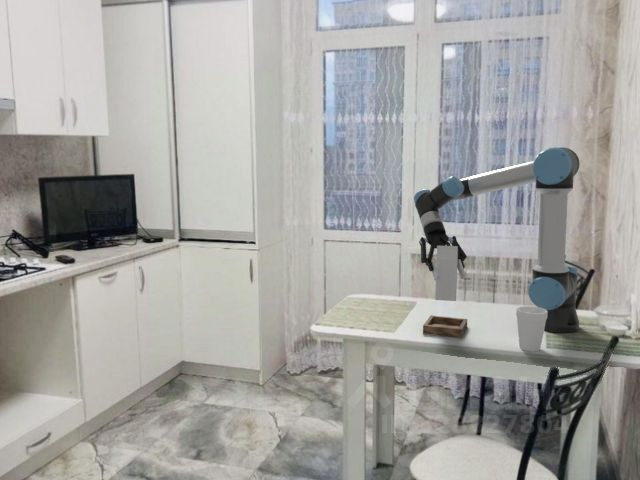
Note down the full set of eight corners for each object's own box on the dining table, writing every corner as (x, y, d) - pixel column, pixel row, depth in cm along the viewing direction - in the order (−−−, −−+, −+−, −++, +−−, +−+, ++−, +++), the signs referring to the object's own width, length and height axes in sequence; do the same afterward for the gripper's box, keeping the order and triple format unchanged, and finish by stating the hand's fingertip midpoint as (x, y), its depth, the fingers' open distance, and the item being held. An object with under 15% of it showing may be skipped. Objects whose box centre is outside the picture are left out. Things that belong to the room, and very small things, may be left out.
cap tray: (467, 326, 214) (467, 319, 213) (461, 338, 202) (461, 329, 201) (430, 322, 219) (430, 315, 218) (422, 333, 207) (423, 325, 206)
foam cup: (513, 342, 197) (515, 305, 195) (542, 344, 195) (544, 306, 193) (516, 352, 188) (518, 313, 185) (547, 354, 186) (549, 314, 184)
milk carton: (456, 301, 204) (458, 248, 201) (435, 300, 206) (437, 247, 203) (455, 296, 211) (457, 244, 208) (435, 295, 213) (437, 243, 210)
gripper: (456, 231, 222) (475, 281, 210) (402, 233, 217) (417, 284, 205) (463, 219, 216) (483, 270, 204) (407, 221, 211) (424, 273, 199)
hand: (450, 277), depth 204 cm, fingers closed on milk carton, 9 cm apart
